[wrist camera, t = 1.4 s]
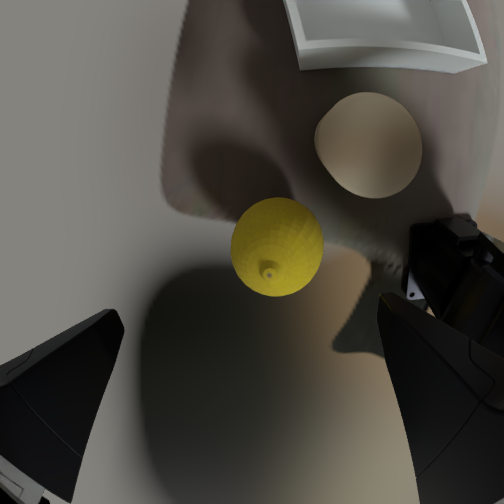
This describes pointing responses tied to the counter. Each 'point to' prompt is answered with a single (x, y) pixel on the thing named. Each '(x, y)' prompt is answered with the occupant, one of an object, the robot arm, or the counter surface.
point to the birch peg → (369, 145)
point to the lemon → (277, 246)
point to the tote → (385, 34)
